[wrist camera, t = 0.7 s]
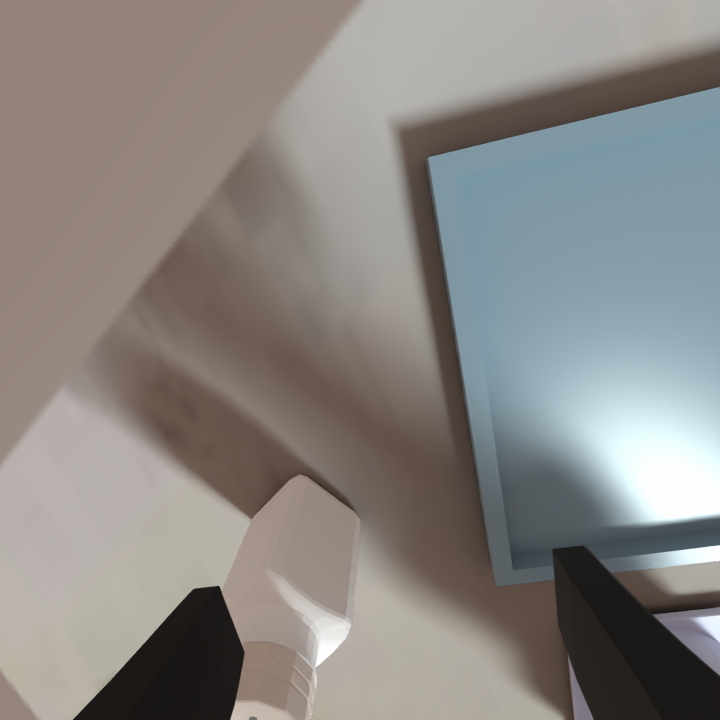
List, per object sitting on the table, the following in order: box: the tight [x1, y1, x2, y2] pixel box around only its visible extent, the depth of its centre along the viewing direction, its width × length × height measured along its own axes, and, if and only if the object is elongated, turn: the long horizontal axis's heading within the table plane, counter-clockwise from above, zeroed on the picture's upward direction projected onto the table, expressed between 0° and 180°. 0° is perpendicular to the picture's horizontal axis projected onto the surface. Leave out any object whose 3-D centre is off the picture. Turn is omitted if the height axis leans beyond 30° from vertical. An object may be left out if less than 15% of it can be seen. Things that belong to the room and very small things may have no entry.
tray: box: [425, 87, 720, 587], centre depth 17 cm, size 18×18×2 cm
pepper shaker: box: [222, 474, 361, 720], centre depth 18 cm, size 4×4×10 cm
